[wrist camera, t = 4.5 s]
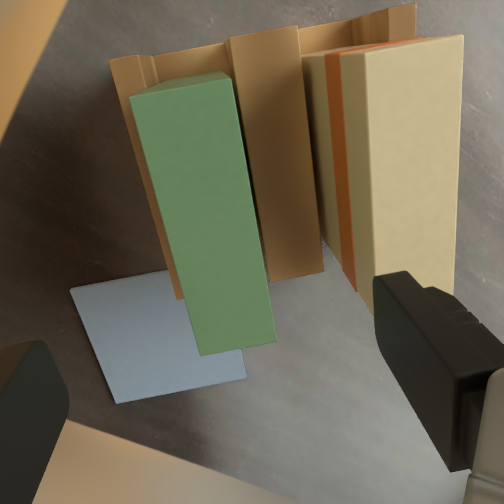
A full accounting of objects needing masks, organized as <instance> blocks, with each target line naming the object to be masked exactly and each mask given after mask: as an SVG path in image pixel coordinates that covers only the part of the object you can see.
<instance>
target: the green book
mask: <svg viewBox="0 0 504 504" xmlns="http://www.w3.org/2000/svg"><path fill="white" fill-rule="evenodd" d="M128 99H129V102H130V106H131V110H132V113H133V117H134V120H135V124H136V128H137V131H138V135H139V138H140V142H141V146H142V149H143V153H144V156H145V160H146V164H147V167H148V171H149V174H150V178H151V182H152V185H153V189H154V192H155V196H156V200H157V203H158V207H159V210H160V214H161V218H162V221H163V225H164V228H165V232H166V236H167V239H168V243H169V246H170V250H171V254H172V257H173V261H174V264H175V268H176V272H177V275H178V279H179V282H180V286H181V290H182V293H183V297H184V300H185V304H186V308H187V311H188V315H189V318H190V322H191V326H192V329H193V333H194V336H195V340H196V344H197V347H198V351H199V354H200V356H206V355H211V354H216V353H221V352H226V351H232V350H237V349H242V348H247V347H252V346H257V345H262V344H267V343H273V342H277V336H276V330H275V325H274V319H273V313H272V308H271V302H270V296H269V290H268V285H267V279H266V273H265V268H264V262H263V256H262V251H261V245H260V239H259V234H258V228H257V222H256V216H255V211H254V205H253V199H252V194H251V188H250V182H249V177H248V171H247V165H246V160H245V154H244V148H243V142H242V137H241V131H240V125H239V120H238V114H237V108H236V103H235V97H234V91H233V86H232V80H231V78H230V77H229V76H227V75H226V74H225V73H224V72H223V71H221V70H218V71H213V72H208V73H202V74H197V75H191V76H186V77H181V78H175V79H170V80H166V81H164V82H162V83H160V84H157V85H155V86H153V87H150V88H148V89H146V90H144V91H141V92H139V93H137V94H134V95H132V96H130V97H129V98H128Z"/></svg>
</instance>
